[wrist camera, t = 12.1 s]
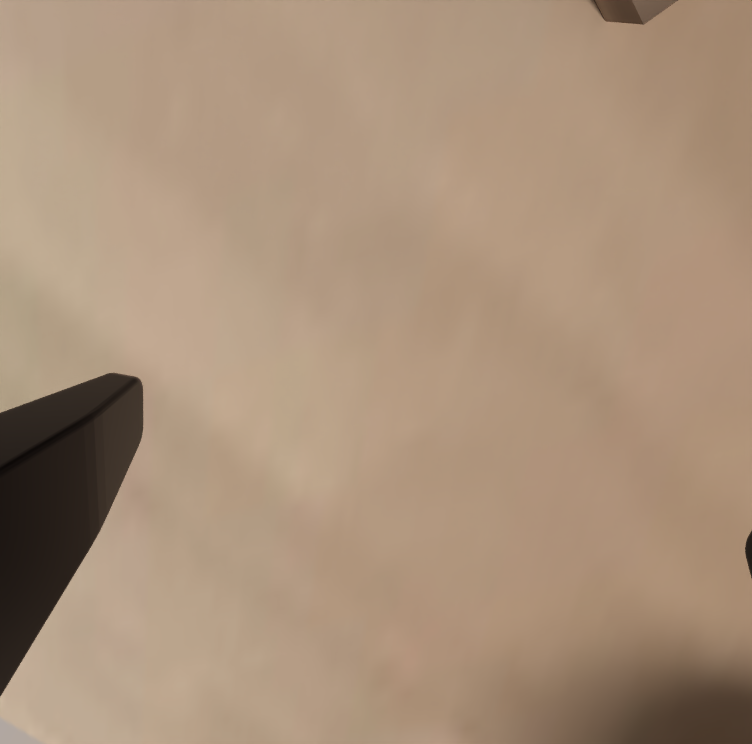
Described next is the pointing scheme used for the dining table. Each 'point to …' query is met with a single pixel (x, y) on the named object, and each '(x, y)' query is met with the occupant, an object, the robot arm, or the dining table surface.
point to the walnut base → (632, 10)
